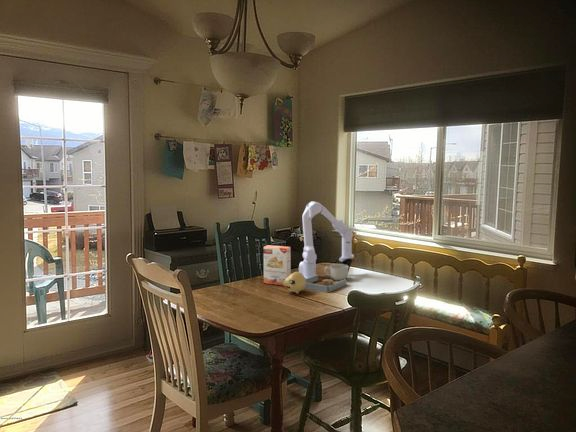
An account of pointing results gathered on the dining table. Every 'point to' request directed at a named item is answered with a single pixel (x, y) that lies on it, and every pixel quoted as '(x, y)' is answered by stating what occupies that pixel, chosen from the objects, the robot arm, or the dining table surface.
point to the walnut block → (327, 282)
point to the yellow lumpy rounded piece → (295, 282)
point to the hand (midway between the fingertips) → (346, 271)
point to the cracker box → (276, 264)
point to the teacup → (337, 271)
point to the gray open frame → (322, 287)
